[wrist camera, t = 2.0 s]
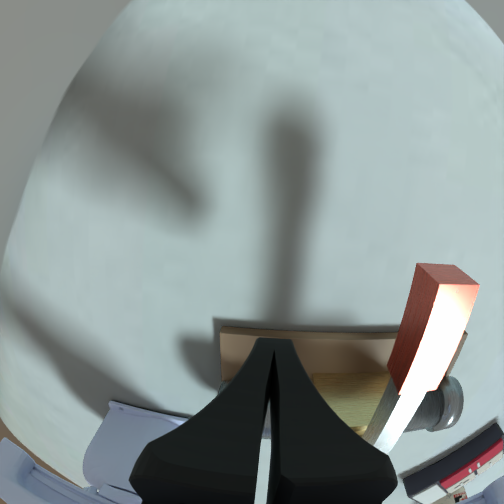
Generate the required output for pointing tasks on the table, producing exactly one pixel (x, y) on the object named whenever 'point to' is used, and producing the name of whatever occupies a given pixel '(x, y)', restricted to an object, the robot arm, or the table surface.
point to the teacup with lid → (452, 497)
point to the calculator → (456, 467)
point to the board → (318, 350)
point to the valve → (369, 395)
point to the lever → (422, 347)
